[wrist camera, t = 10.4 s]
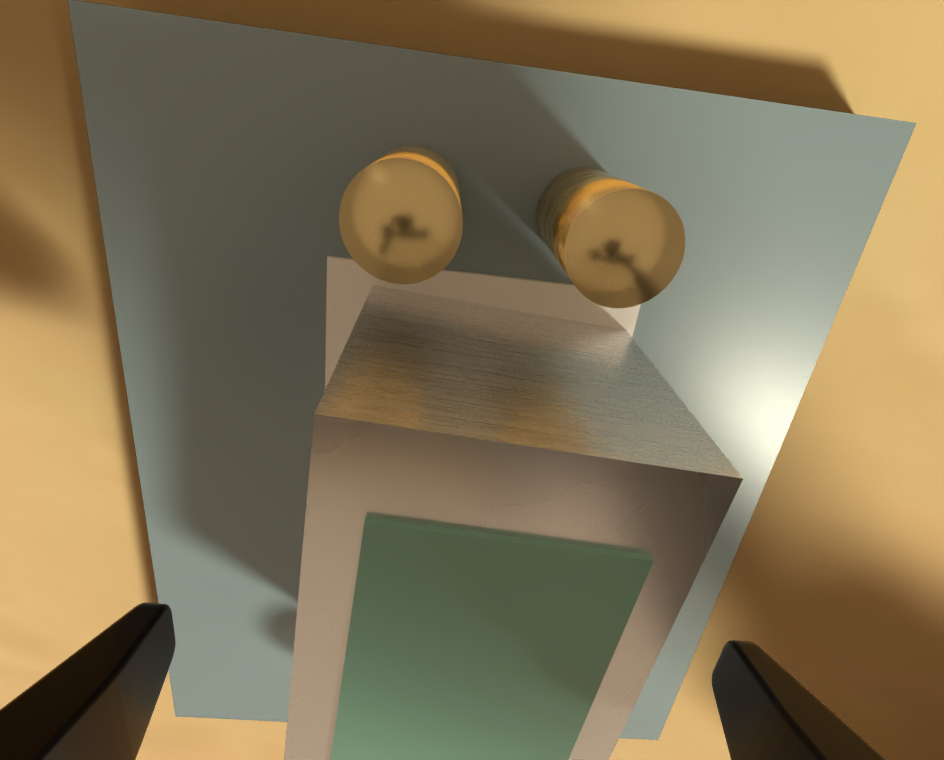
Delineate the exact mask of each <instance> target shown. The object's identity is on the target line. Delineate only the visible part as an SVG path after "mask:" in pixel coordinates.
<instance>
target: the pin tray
mask: <svg viewBox="0 0 944 760" xmlns="http://www.w3.org/2000/svg"><path fill="white" fill-rule="evenodd" d="M68 6H69V13H70V19H71V26H72V33H73V39H74V46H75V53H76V59H77V66H78V72H79V79H80V86H81V92H82V99H83V106H84V112H85V119H86V126H87V132H88V139H89V145H90V152H91V159H92V165H93V172H94V179H95V185H96V192H97V198H98V205H99V212H100V218H101V225H102V232H103V238H104V245H105V252H106V258H107V265H108V271H109V278H110V285H111V291H112V298H113V305H114V311H115V318H116V324H117V331H118V338H119V344H120V351H121V358H122V364H123V371H124V377H125V384H126V391H127V397H128V404H129V411H130V417H131V424H132V431H133V437H134V444H135V450H136V457H137V464H138V470H139V477H140V484H141V490H142V497H143V503H144V510H145V517H146V523H147V530H148V537H149V543H150V550H151V557H152V563H153V570H154V576H155V583H156V590H157V596H158V603H159V604H167V605H169V606H170V608H171V611H172V617H173V625H174V632H175V640H176V645H175V651H174V655H173V659H172V661H171V664H170V667H169V676H170V682H171V689H172V696H173V702H174V709H175V716H177V717H198V718H218V719H238V720H259V721H279V722H287V720H288V709H289V697H290V686H291V674H292V663H293V651H294V640H295V628H296V617H297V606H298V594H299V583H300V571H301V560H302V548H303V537H304V526H305V514H306V503H307V491H308V480H309V468H310V457H311V445H312V434H313V423H314V413H315V411H316V409H317V407H318V404H319V402H320V400H321V398H322V396H323V393H324V391H325V389H326V387H327V385H328V382H329V380H330V378H331V376H332V374H333V371H334V369H335V367H336V365H337V363H338V360H339V358H340V356H341V354H342V352H343V349H344V347H345V345H346V343H347V341H348V338H349V336H350V334H351V332H352V330H353V327H354V325H355V323H356V321H357V319H358V316H359V314H360V312H361V310H362V308H363V305H364V303H365V301H366V299H367V297H368V294H369V292H370V290H371V288H372V286H373V285H377V286H382V287H388V288H394V289H399V290H405V291H410V292H416V293H422V294H427V295H433V296H438V297H444V298H450V299H455V300H461V301H466V302H472V303H478V304H483V305H489V306H494V307H500V308H506V309H511V310H517V311H523V312H528V313H534V314H539V315H545V316H551V317H556V318H562V319H567V320H573V321H579V322H584V323H590V324H595V325H601V326H607V327H612V328H618V329H623V330H627V332H628V333H629V334H630V335H631V337H632V338H633V339H634V341H635V342H636V343H637V344H638V346H639V347H640V348H641V349H642V351H643V352H644V353H645V355H646V356H647V357H648V358H649V360H650V361H651V362H652V363H653V365H654V366H655V367H656V369H657V370H658V371H659V372H660V374H661V375H662V376H663V377H664V379H665V380H666V381H667V382H668V384H669V385H670V386H671V388H672V389H673V390H674V391H675V393H676V394H677V395H678V396H679V398H680V399H681V400H682V402H683V403H684V404H685V405H686V407H687V408H688V409H689V410H690V412H691V413H692V414H693V416H694V417H695V418H696V419H697V421H698V422H699V423H700V424H701V426H702V427H703V428H704V429H705V431H706V432H707V433H708V435H709V436H710V437H711V438H712V440H713V441H714V442H715V443H716V445H717V446H718V447H719V449H720V450H721V451H722V452H723V454H724V455H725V456H726V457H727V459H728V460H729V461H730V463H731V464H732V465H733V466H734V468H735V469H736V470H737V471H738V473H739V474H740V475H741V476H742V478H743V480H742V482H741V485H740V487H739V489H738V491H737V493H736V495H735V497H734V499H733V501H732V503H731V505H730V508H729V510H728V512H727V514H726V516H725V518H724V520H723V522H722V524H721V526H720V528H719V530H718V533H717V535H716V537H715V539H714V541H713V543H712V545H711V547H710V549H709V551H708V553H707V555H706V558H705V560H704V562H703V564H702V566H701V568H700V570H699V572H698V574H697V576H696V578H695V580H694V583H693V585H692V587H691V589H690V591H689V593H688V595H687V597H686V599H685V601H684V603H683V606H682V608H681V610H680V612H679V614H678V616H677V618H676V620H675V622H674V624H673V626H672V628H671V631H670V633H669V635H668V637H667V639H666V641H665V643H664V645H663V647H662V649H661V651H660V653H659V656H658V658H657V660H656V662H655V664H654V666H653V668H652V670H651V672H650V674H649V676H648V679H647V681H646V683H645V685H644V687H643V689H642V691H641V693H640V695H639V697H638V699H637V701H636V704H635V706H634V708H633V710H632V712H631V714H630V716H629V718H628V720H627V722H626V724H625V726H624V729H623V731H622V733H621V735H620V737H619V738H626V739H647V740H658V739H659V737H660V734H661V732H662V729H663V727H664V725H665V722H666V720H667V717H668V715H669V713H670V710H671V708H672V706H673V703H674V701H675V698H676V696H677V694H678V691H679V689H680V686H681V684H682V682H683V679H684V677H685V674H686V672H687V670H688V667H689V665H690V663H691V660H692V658H693V655H694V653H695V651H696V648H697V646H698V643H699V641H700V639H701V636H702V634H703V631H704V629H705V627H706V624H707V622H708V620H709V617H710V615H711V612H712V610H713V608H714V605H715V603H716V600H717V598H718V596H719V593H720V591H721V589H722V586H723V584H724V581H725V579H726V577H727V574H728V572H729V569H730V567H731V565H732V562H733V560H734V557H735V555H736V553H737V550H738V548H739V546H740V543H741V541H742V538H743V536H744V534H745V531H746V529H747V526H748V524H749V522H750V519H751V517H752V515H753V512H754V510H755V507H756V505H757V503H758V500H759V498H760V495H761V493H762V491H763V488H764V486H765V483H766V481H767V479H768V476H769V474H770V472H771V469H772V467H773V464H774V462H775V460H776V457H777V455H778V452H779V450H780V448H781V445H782V443H783V440H784V438H785V436H786V433H787V431H788V429H789V426H790V424H791V421H792V419H793V417H794V414H795V412H796V409H797V407H798V405H799V402H800V400H801V398H802V395H803V393H804V390H805V388H806V386H807V383H808V381H809V378H810V376H811V374H812V371H813V369H814V366H815V364H816V362H817V359H818V357H819V355H820V352H821V350H822V347H823V345H824V343H825V340H826V338H827V335H828V333H829V331H830V328H831V326H832V323H833V321H834V319H835V316H836V314H837V312H838V309H839V307H840V304H841V302H842V300H843V297H844V295H845V292H846V290H847V288H848V285H849V283H850V281H851V278H852V276H853V273H854V271H855V269H856V266H857V264H858V261H859V259H860V257H861V254H862V252H863V249H864V247H865V245H866V242H867V240H868V238H869V235H870V233H871V230H872V228H873V226H874V223H875V221H876V218H877V216H878V214H879V211H880V209H881V206H882V204H883V202H884V199H885V197H886V195H887V192H888V190H889V187H890V185H891V183H892V180H893V178H894V175H895V173H896V171H897V168H898V166H899V164H900V161H901V159H902V156H903V154H904V152H905V149H906V147H907V144H908V142H909V140H910V137H911V135H912V132H913V130H914V128H915V125H916V123H912V122H905V121H898V120H892V119H885V118H878V117H871V116H864V115H857V114H851V113H844V112H837V111H830V110H823V109H816V108H809V107H803V106H796V105H789V104H782V103H775V102H768V101H761V100H755V99H748V98H741V97H734V96H727V95H720V94H714V93H707V92H700V91H693V90H686V89H679V88H672V87H666V86H659V85H652V84H645V83H638V82H631V81H625V80H618V79H611V78H604V77H597V76H590V75H583V74H577V73H570V72H563V71H556V70H549V69H542V68H536V67H529V66H522V65H515V64H508V63H501V62H494V61H488V60H481V59H474V58H467V57H460V56H453V55H447V54H440V53H433V52H426V51H419V50H412V49H405V48H399V47H392V46H385V45H378V44H371V43H364V42H358V41H351V40H344V39H337V38H330V37H323V36H316V35H310V34H303V33H296V32H289V31H282V30H275V29H269V28H262V27H255V26H248V25H241V24H234V23H227V22H221V21H214V20H207V19H200V18H193V17H186V16H180V15H173V14H166V13H159V12H152V11H145V10H138V9H132V8H125V7H118V6H111V5H104V4H97V3H91V2H84V1H77V0H68Z"/></svg>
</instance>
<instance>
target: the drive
mask: <svg viewBox="0 0 944 760" xmlns="http://www.w3.org/2000/svg"><path fill="white" fill-rule="evenodd" d="M742 480H743V478H742V476H741V475H740V474H739V473H738V471H737V470H736V469H735V468H734V466H733V465H732V464H731V463H730V461H729V460H728V459H727V457H726V456H725V455H724V454H723V452H722V451H721V450H720V449H719V447H718V446H717V445H716V443H715V442H714V441H713V440H712V438H711V437H710V436H709V435H708V433H707V432H706V431H705V429H704V428H703V427H702V426H701V424H700V423H699V422H698V421H697V419H696V418H695V417H694V416H693V414H692V413H691V412H690V410H689V409H688V408H687V407H686V405H685V404H684V403H683V402H682V400H681V399H680V398H679V396H678V395H677V394H676V393H675V391H674V390H673V389H672V388H671V386H670V385H669V384H668V382H667V381H666V380H665V379H664V377H663V376H662V375H661V374H660V372H659V371H658V370H657V369H656V367H655V366H654V365H653V363H652V362H651V361H650V360H649V358H648V357H647V356H646V355H645V353H644V352H643V351H642V349H641V348H640V347H639V346H638V344H637V343H636V342H635V341H634V339H633V338H632V337H631V335H630V334H629V333H628V332H627V330H623V329H618V328H612V327H607V326H601V325H595V324H590V323H584V322H579V321H573V320H567V319H562V318H556V317H551V316H545V315H539V314H534V313H528V312H523V311H517V310H511V309H506V308H500V307H494V306H489V305H483V304H478V303H472V302H466V301H461V300H455V299H450V298H444V297H438V296H433V295H427V294H422V293H416V292H410V291H405V290H399V289H394V288H388V287H382V286H377V285H373V286H372V288H371V290H370V292H369V294H368V297H367V299H366V301H365V303H364V305H363V308H362V310H361V312H360V314H359V316H358V319H357V321H356V323H355V325H354V327H353V330H352V332H351V334H350V336H349V338H348V341H347V343H346V345H345V347H344V349H343V352H342V354H341V356H340V358H339V360H338V363H337V365H336V367H335V369H334V371H333V374H332V376H331V378H330V380H329V382H328V385H327V387H326V389H325V391H324V393H323V396H322V398H321V400H320V402H319V404H318V407H317V409H316V411H315V413H314V423H313V434H312V445H311V457H310V468H309V480H308V491H307V503H306V514H305V526H304V537H303V548H302V560H301V571H300V583H299V594H298V606H297V617H296V628H295V640H294V651H293V663H292V674H291V686H290V697H289V709H288V720H287V731H286V743H285V754H284V760H609V758H610V756H611V754H612V752H613V749H614V747H615V745H616V743H617V741H618V739H619V737H620V735H621V733H622V731H623V729H624V726H625V724H626V722H627V720H628V718H629V716H630V714H631V712H632V710H633V708H634V706H635V704H636V701H637V699H638V697H639V695H640V693H641V691H642V689H643V687H644V685H645V683H646V681H647V679H648V676H649V674H650V672H651V670H652V668H653V666H654V664H655V662H656V660H657V658H658V656H659V653H660V651H661V649H662V647H663V645H664V643H665V641H666V639H667V637H668V635H669V633H670V631H671V628H672V626H673V624H674V622H675V620H676V618H677V616H678V614H679V612H680V610H681V608H682V606H683V603H684V601H685V599H686V597H687V595H688V593H689V591H690V589H691V587H692V585H693V583H694V580H695V578H696V576H697V574H698V572H699V570H700V568H701V566H702V564H703V562H704V560H705V558H706V555H707V553H708V551H709V549H710V547H711V545H712V543H713V541H714V539H715V537H716V535H717V533H718V530H719V528H720V526H721V524H722V522H723V520H724V518H725V516H726V514H727V512H728V510H729V508H730V505H731V503H732V501H733V499H734V497H735V495H736V493H737V491H738V489H739V487H740V485H741V482H742Z"/></svg>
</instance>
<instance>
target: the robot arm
mask: <svg viewBox="0 0 944 760" xmlns="http://www.w3.org/2000/svg"><path fill="white" fill-rule="evenodd" d="M175 645H176V640H175V632H174V625H173V617H172V611H171V608H170V606H169V605H167V604H159V603H142V604H139V605H137V606H136V607H134V608H133V609H132V610H130V611H129V612H128V613H127V614H125V615H124V616H123V617H121V618H120V619H119V620H117V621H116V622H115V623H113V624H112V625H111V626H109V627H108V628H107V629H106V630H104V631H103V632H102V633H100V634H99V635H98V636H96V637H95V638H94V639H92V640H91V641H90V642H88V643H87V644H86V645H85V646H83V647H82V648H81V649H79V650H78V651H77V652H75V653H74V654H73V655H71V656H70V657H69V658H67V659H66V660H65V661H64V662H62V663H61V664H60V665H58V666H57V667H56V668H54V669H53V670H52V671H50V672H49V673H48V674H46V675H45V676H44V677H43V678H41V679H40V680H39V681H37V682H36V683H35V684H33V685H32V686H31V687H29V688H28V689H27V690H25V691H24V692H23V693H22V694H20V695H19V696H18V697H16V698H15V699H14V700H12V701H11V702H10V703H8V704H7V705H6V706H4V707H3V708H2V709H1V710H0V760H135V759H136V756H137V754H138V751H139V749H140V746H141V744H142V741H143V738H144V735H145V733H146V730H147V727H148V724H149V722H150V719H151V716H152V713H153V711H154V708H155V705H156V702H157V700H158V697H159V694H160V691H161V689H162V686H163V683H164V681H165V678H166V675H167V672H168V670H169V667H170V664H171V661H172V659H173V655H174V651H175ZM712 687H713V692H714V696H715V699H716V703H717V707H718V711H719V715H720V719H721V722H722V726H723V730H724V734H725V738H726V741H727V745H728V749H729V753H730V757H731V760H885V759H884V758H883V757H882V756H881V755H880V754H879V753H877V752H876V751H875V750H874V749H873V748H872V747H871V746H870V745H868V744H867V743H866V742H865V741H864V740H863V739H862V738H861V737H860V736H858V735H857V734H856V733H855V732H854V731H853V730H852V729H851V728H849V727H848V726H847V725H846V724H845V723H844V722H843V721H842V720H841V719H839V718H838V717H837V716H836V715H835V714H834V713H833V712H832V711H830V710H829V709H828V708H827V707H826V706H825V705H824V704H823V703H821V702H820V701H819V700H818V699H817V698H816V697H815V696H814V695H813V694H811V693H810V692H809V691H808V690H807V689H806V688H805V687H804V686H802V685H801V684H800V683H799V682H798V681H797V680H796V679H795V678H793V677H792V676H791V675H790V674H789V673H788V672H787V671H786V670H785V669H783V668H782V667H781V666H780V665H779V664H778V663H777V662H776V661H774V660H773V659H772V658H771V657H770V656H769V655H768V654H767V653H765V652H764V651H763V650H762V649H761V648H760V647H759V646H757V645H756V644H754V643H752V642H748V641H733V640H732V641H729V642H727V643H726V644H725V646H724V648H723V650H722V653H721V655H720V657H719V659H718V661H717V664H716V666H715V668H714V670H713V674H712Z"/></svg>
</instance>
